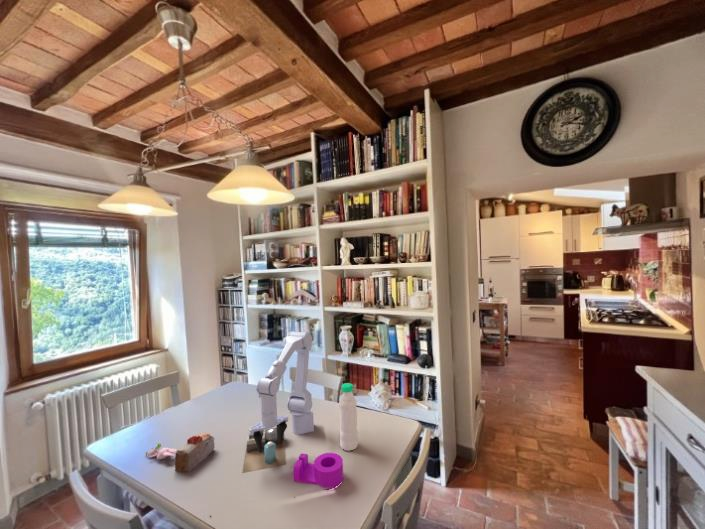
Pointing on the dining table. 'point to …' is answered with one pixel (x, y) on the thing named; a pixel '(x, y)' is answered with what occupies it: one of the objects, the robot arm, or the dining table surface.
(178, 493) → the dining table surface
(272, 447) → the blue bottle white cap
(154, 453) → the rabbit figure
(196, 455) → the food item
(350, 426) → the water bottle
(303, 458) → the tape dispenser
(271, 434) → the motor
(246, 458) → the mounting board
